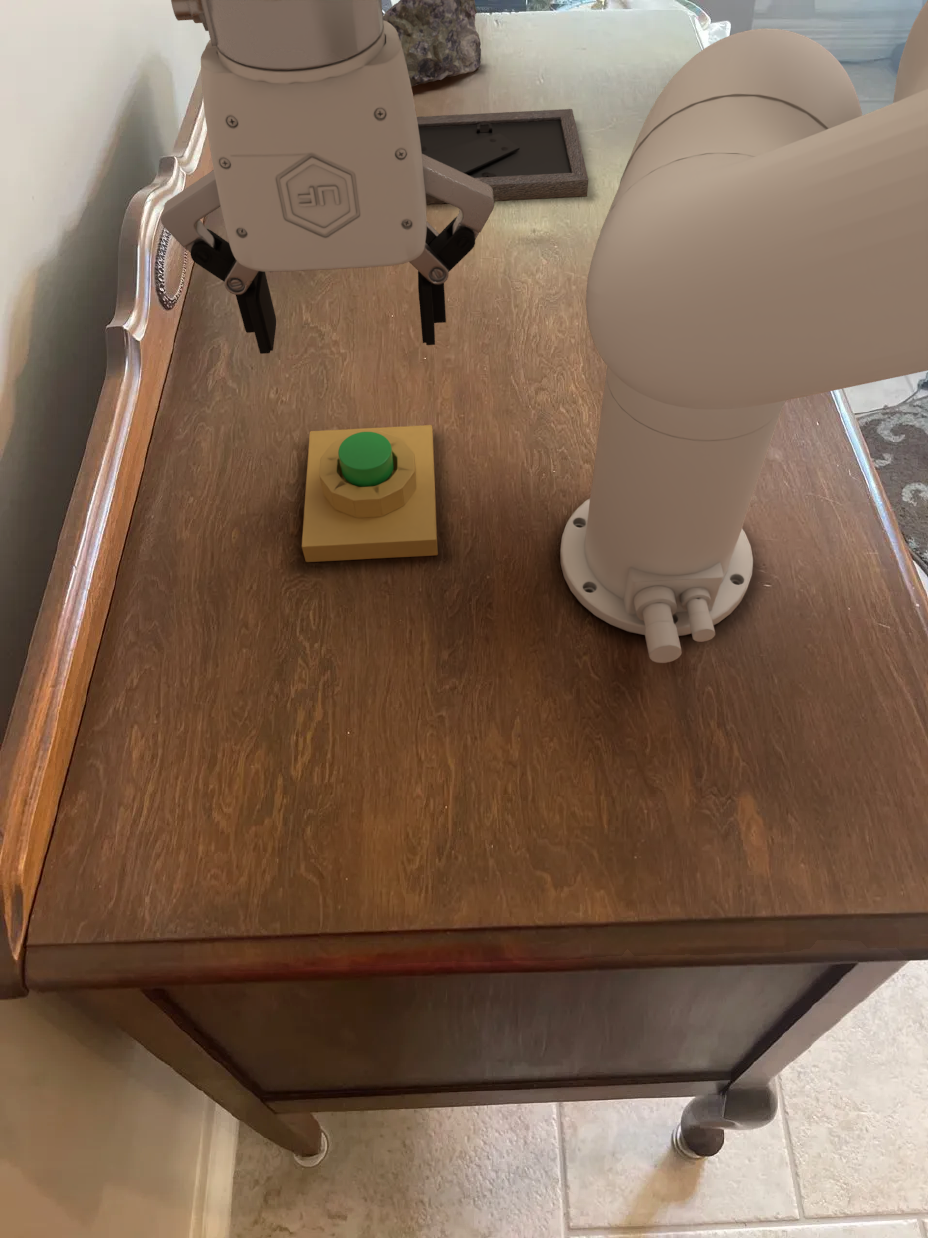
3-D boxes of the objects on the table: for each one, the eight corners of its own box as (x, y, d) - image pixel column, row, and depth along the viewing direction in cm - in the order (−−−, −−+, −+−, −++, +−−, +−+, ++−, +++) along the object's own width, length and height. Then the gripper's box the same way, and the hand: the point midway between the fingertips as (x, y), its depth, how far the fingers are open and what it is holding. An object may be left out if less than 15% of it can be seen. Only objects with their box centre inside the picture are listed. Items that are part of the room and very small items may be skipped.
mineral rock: (363, 100, 99) (351, -5, 91) (367, 54, 105) (356, -49, 97) (483, 96, 99) (482, -10, 90) (479, 49, 105) (478, -54, 97)
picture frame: (397, 205, 87) (587, 195, 87) (396, 185, 85) (588, 175, 86) (397, 133, 95) (571, 124, 95) (395, 113, 93) (572, 104, 93)
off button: (394, 486, 62) (391, 467, 61) (340, 488, 62) (337, 470, 61) (393, 448, 64) (391, 429, 63) (342, 451, 64) (338, 432, 63)
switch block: (437, 555, 63) (435, 521, 60) (305, 562, 62) (296, 528, 60) (433, 441, 69) (430, 405, 66) (313, 447, 69) (305, 412, 66)
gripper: (81, 59, 38) (194, 384, 52) (499, 37, 38) (499, 368, 52) (114, -17, 42) (210, 302, 56) (489, -37, 42) (491, 288, 56)
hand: (348, 334), depth 54 cm, fingers open, 9 cm apart
